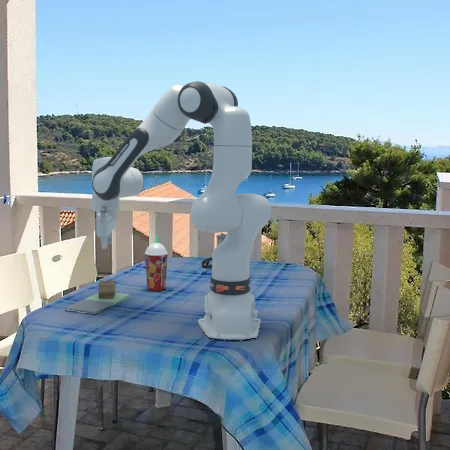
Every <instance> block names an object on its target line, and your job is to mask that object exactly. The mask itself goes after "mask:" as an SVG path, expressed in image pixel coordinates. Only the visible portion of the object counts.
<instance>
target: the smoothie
mask: <svg viewBox="0 0 450 450" xmlns="http://www.w3.org/2000/svg"><path fill="white" fill-rule="evenodd" d="M154 237H155V239H154V240H155V241H154V242H153V243H151V244H149V245H148V246H147V247H146V249H145V251H144V258H145V259H144V262H145V276H146V286H147V289H148V290H149V291H151V292H160V291H163V290H165V287H166V285H167V272H168V271H167V270H168V257H169V256H168V255H169V252H168V251H167V249H166V247H165V245H164V244H162V243H160V242H158V234H156V235H154Z"/></svg>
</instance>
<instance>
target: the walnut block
mask: <svg viewBox="0 0 450 450" xmlns="http://www.w3.org/2000/svg"><path fill="white" fill-rule="evenodd" d="M97 289H98V290H97V291H98V292H97V293H99V299H114V297H115V293H116V280H100V281H99V283H98V288H97Z"/></svg>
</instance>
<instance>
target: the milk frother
mask: <svg viewBox="0 0 450 450" xmlns="http://www.w3.org/2000/svg"><path fill="white" fill-rule="evenodd" d="M226 235H227V233H225V234H223V233H221V234H218V235H216V236H215V237H216V247H217V246H218V245H220V244H221V243H222V242H223V241H224V239H225V237H226ZM210 262H212V257H208V258H204V259H203V260H201V264H200V265H201V266H202V267H203V268H207V269H208V268H209V269H212V264H210Z"/></svg>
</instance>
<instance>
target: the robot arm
mask: <svg viewBox="0 0 450 450" xmlns="http://www.w3.org/2000/svg"><path fill="white" fill-rule="evenodd" d="M190 120H193V121H196V122H199V123H201V124H205V125H206V124H209V125H210V126H211V127H212V129H213V156H212V157H213V159H212V160H213V162H212V172H211V175H210V179H209V182H208V184H207V186H206V188H205V190H204V191H203V192H202V193H201V194H200V196H199V197H197V198H196V199H195V200H194V201H193V202H192V205H191V208H190V213H189V214H190V215H189V216H190V220H191V223H192V225H193V227H194V228H195V229H197V230H198V231H199V232H204V233H211V234H217V233H226V234H227V235H226V237H225V239H224V241H223V242H222V243H221V244H220V245H218V246H217V245H216V247H215V248H214V249H213V251H212V254H211V255H212V256H211V258H212V261H211V265H212V268H211V276H210V279H209V288H210V291H209V292H208V293H207V294H206V295H205V298H204V315H203V318H199V319H198V320H197V321H198V322H197V324H198V326H199V328H201V330H202V332H205V333H204V335H205V336H206V335H207V336H208V337H210V338H226V339H238V338H239V339H240V338H254V337H257V336H258V337H259V334H258V333H260V329H259V328H261V325H262V322H261V319H260V318H258V315H259V314H258V309H255V308H257V302H255V295H254V294H253V293H252V292H251V284H252V283H251V277H250V264H251V263H250V261H251V253H252V249H253V245H254V244H255V243H254V242H255V240H256V238H257V236H258V235H259V233H260V231H261V230H262V229H263V228H264V227H266V226H267V224H268V223H269V221H270V219H271V217H272V216H271V215H272V207H271V204H270V202H269V200H268V198H267V197H265V196H264V195H260V194H257V193H250V192H249V193H237V190H238V188H239V185H240V184H241V183H242V182H243V181H244V180H246V179H247V178H248V177H249V176H250V175H251V173H252V167H253V165H252V164H253V163H252V162H253V159H252V158H253V133H252V130H253V129H252V123H251V117H250V114H249V112H248V111H247V110H246V109H244V108H242V107H239V102H238V98H237V96H236V93H234V92H233V91H232V90H231V89H230V88H228V87H226V86H222V85H218V84H215V83H213V82H206V81H205V82H202V81H197V80H196V81H190V82H188V83H186V84H184V85H183V84H178V83H177V84H173V85H172V86H170V87H169V88H168V89H167V90H166V91H165V92H164V93H163V94H162V96H161V97H160V98H159V99H158V100H157V102H156V104H155V105H154V106H153V108H152V109H151V111H150V112H149V114H148V115H147V116H146V118H145V119H144V120H143V121H142V122H141V123H140V124H139V125H138V127H136V129H134V130H133V131H132V132H131V133H130V134H129V135H128V137H127V138H126V139H125V140H124V141H122V144H121V145H120V146H119V147H118V148H117V150H116V151H115V152H114V154H113V155H107V156H100V157H97V158H95V159H94V160H93V162H92V166H91V167H92V168H91V186H92V194H91V199H92V200H91V203H92V204H91V205H92V212H95V213H96V223H95V224H96V231H95V232H96V236H97V237H98V238H99V239H100V240H99V241H100V243H101V246H100V247H101V249H102V250H106V249H108V245H111V244H112V236H113V231H114V230H115V229H116V225H117V214H118V213H117V212H118V211H120V199H121V198H130V197H134V196H138V195H139V194H140V193H142V191H143V189H144V186H145V178H144V176H143V173H142V172H141V170H139V168H135V167H132V166H133V165H134V163H136V161H137V160H138V159H139V158H140V157H142V156H143V155H145V154H146V153H148V152H151V151H153V150H157V149H161V148H165V147H168V146H170V145H171V144H172V143H173V142H174V141H175V140H176V139H178V137H179V136H180V135H181V133H182V132H183V131H184V129H185V127H186V126H187V124H189V122H190ZM260 324H261V325H260ZM207 336H206V337H207ZM208 337H207V338H208Z"/></svg>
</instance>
